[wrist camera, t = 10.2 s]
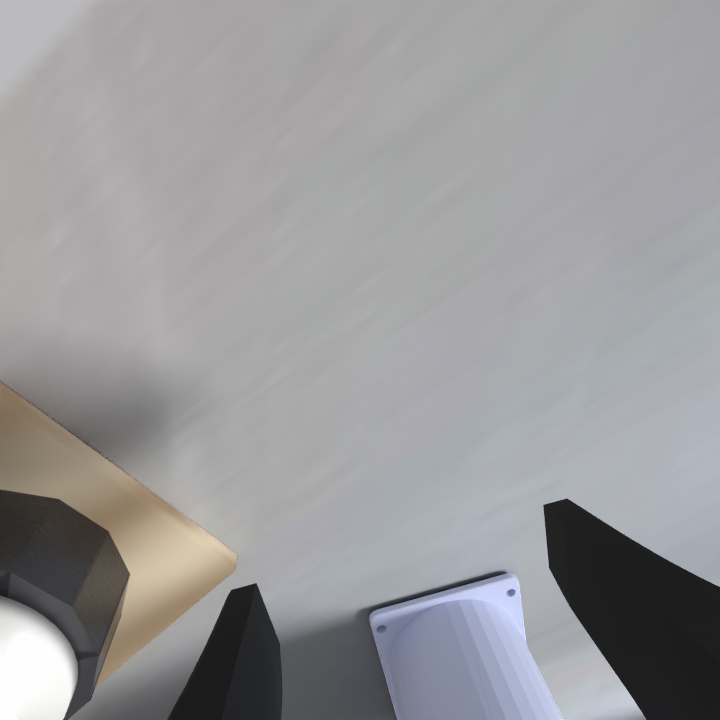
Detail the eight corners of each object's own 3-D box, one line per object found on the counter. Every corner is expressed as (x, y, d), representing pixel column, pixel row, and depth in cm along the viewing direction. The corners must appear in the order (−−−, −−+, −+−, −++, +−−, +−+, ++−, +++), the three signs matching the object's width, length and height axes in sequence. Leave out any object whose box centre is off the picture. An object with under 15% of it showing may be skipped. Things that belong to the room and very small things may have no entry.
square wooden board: (237, 554, 24) (235, 570, 23) (55, 707, 26) (46, 728, 25) (-13, 372, 19) (-28, 382, 19) (-214, 574, 21) (-236, 592, 20)
